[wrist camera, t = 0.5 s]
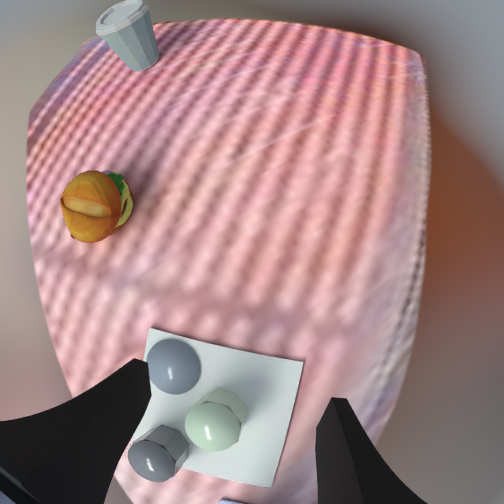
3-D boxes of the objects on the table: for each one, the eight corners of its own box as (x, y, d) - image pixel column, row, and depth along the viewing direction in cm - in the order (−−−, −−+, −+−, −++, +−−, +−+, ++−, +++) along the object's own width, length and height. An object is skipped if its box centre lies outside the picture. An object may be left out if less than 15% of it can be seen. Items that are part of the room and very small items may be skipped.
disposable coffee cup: (166, 70, 45) (141, 11, 31) (116, 86, 46) (84, 34, 31) (169, 42, 48) (149, -10, 33) (124, 57, 48) (99, 9, 34)
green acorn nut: (241, 436, 30) (234, 457, 24) (196, 425, 30) (181, 442, 24) (250, 395, 31) (244, 410, 25) (203, 385, 32) (189, 396, 26)
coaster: (195, 400, 31) (194, 401, 31) (143, 384, 32) (142, 384, 32) (205, 347, 33) (204, 347, 32) (152, 332, 34) (151, 332, 33)
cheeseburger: (133, 165, 40) (105, 142, 30) (150, 231, 40) (121, 224, 30) (80, 190, 40) (44, 175, 30) (94, 253, 40) (56, 252, 30)
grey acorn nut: (185, 467, 29) (171, 488, 23) (146, 453, 30) (126, 471, 24) (191, 433, 30) (176, 451, 24) (150, 420, 31) (129, 434, 25)
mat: (270, 485, 28) (270, 487, 27) (133, 447, 30) (132, 449, 30) (303, 361, 32) (303, 362, 31) (150, 327, 34) (149, 327, 34)
